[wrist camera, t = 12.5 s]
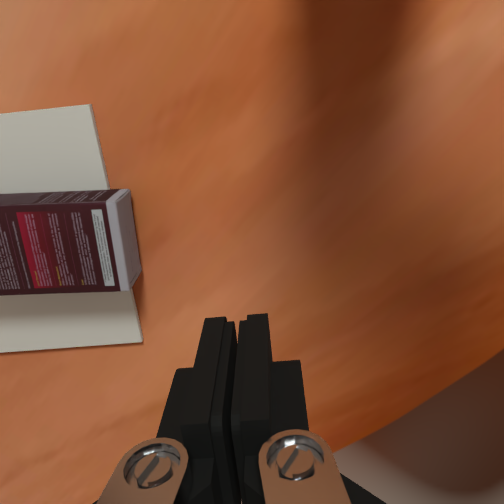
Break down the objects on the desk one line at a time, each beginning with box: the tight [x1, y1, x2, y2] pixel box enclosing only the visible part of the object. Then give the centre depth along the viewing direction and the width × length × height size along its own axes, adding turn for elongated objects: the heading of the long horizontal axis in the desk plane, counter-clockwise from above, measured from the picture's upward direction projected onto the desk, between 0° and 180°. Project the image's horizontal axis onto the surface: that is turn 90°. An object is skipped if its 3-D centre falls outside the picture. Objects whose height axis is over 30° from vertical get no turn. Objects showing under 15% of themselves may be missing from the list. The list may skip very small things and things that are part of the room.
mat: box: [0, 104, 143, 353], centre depth 44 cm, size 16×24×1 cm, turn 6°
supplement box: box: [0, 189, 142, 296], centre depth 41 cm, size 9×5×16 cm
